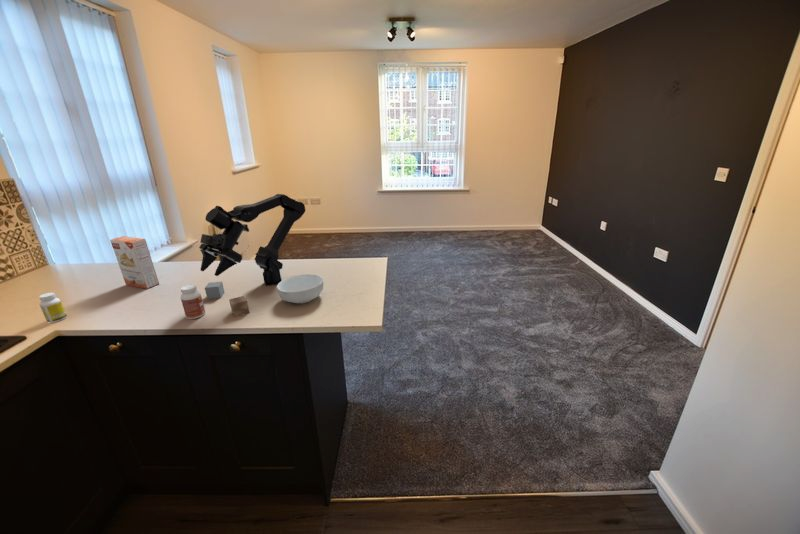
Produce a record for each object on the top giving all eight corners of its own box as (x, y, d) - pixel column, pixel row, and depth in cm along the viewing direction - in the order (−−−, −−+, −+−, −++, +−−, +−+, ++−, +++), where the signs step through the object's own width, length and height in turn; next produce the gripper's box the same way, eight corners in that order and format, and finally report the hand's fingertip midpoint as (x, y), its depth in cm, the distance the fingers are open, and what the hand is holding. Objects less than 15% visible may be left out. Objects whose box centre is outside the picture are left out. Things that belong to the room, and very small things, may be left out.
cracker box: (124, 285, 154) (108, 239, 146) (138, 280, 159) (124, 235, 152) (146, 289, 149) (130, 242, 141) (160, 284, 154) (145, 238, 146)
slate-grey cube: (224, 292, 144) (222, 281, 142) (221, 298, 139) (218, 286, 137) (211, 294, 143) (208, 282, 141) (207, 299, 138) (204, 287, 137)
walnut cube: (246, 307, 131) (243, 295, 129) (249, 313, 127) (247, 300, 125) (231, 311, 128) (229, 299, 126) (234, 317, 124) (231, 304, 122)
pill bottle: (206, 316, 125) (199, 287, 121) (186, 321, 122) (178, 292, 118) (204, 309, 130) (197, 281, 126) (185, 314, 127) (177, 286, 123)
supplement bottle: (71, 315, 130) (61, 291, 126) (59, 322, 125) (49, 297, 121) (55, 316, 129) (44, 292, 125) (43, 324, 124) (31, 298, 120)
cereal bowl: (310, 286, 147) (308, 270, 144) (333, 298, 136) (331, 281, 133) (271, 299, 136) (268, 283, 133) (293, 314, 125) (290, 296, 122)
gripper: (198, 221, 130) (174, 258, 126) (227, 227, 120) (203, 268, 116) (222, 236, 139) (202, 272, 135) (251, 243, 129) (230, 281, 125)
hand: (208, 273), depth 127 cm, fingers open, 9 cm apart
